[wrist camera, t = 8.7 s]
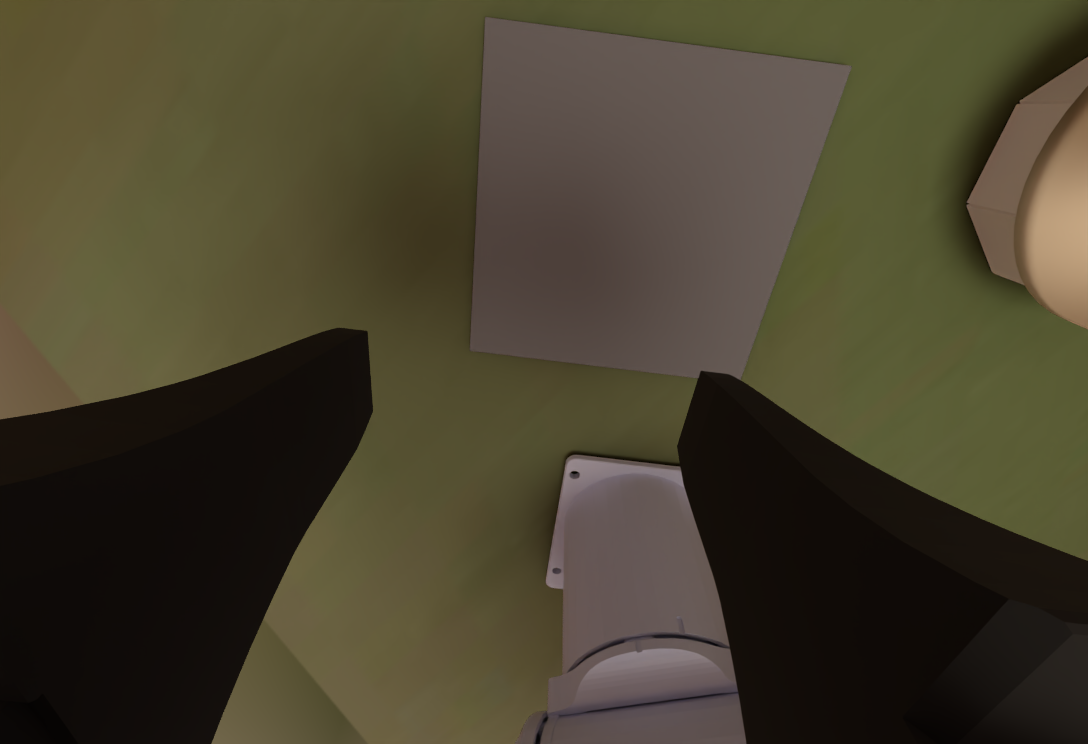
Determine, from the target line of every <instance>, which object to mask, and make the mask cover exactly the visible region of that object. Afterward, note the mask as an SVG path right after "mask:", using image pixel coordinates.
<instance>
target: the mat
mask: <svg viewBox="0 0 1088 744" xmlns="http://www.w3.org/2000/svg"><path fill="white" fill-rule="evenodd" d="M851 67H852V66H847V65H840V64H832V63H825V62H817V61H810V60H802V59H795V58H787V57H780V56H772V55H765V54H758V53H750V52H743V51H735V50H728V49H720V48H713V47H705V46H698V45H690V44H683V43H676V42H668V41H661V40H653V39H646V38H638V37H631V36H623V35H616V34H608V33H601V32H593V31H586V30H579V29H571V28H564V27H556V26H549V25H541V24H534V23H526V22H519V21H511V20H504V19H497V18H489V17H485V34H484V55H483V77H482V99H481V120H480V142H479V163H478V185H477V207H476V228H475V250H474V271H473V293H472V315H471V336H470V351H476V352H484V353H493V354H501V355H509V356H517V357H526V358H534V359H542V360H551V361H559V362H567V363H575V364H584V365H592V366H600V367H609V368H617V369H625V370H633V371H642V372H650V373H658V374H667V375H675V376H683V377H691V378H699V375H700V371H707V372H716V373H724V374H730V375H732V376H734V377H736V378H737V379H739V380H741V377H742V374H743V371H744V369H745V366H746V363H747V360H748V357H749V354H750V352H751V349H752V346H753V343H754V340H755V338H756V335H757V332H758V329H759V326H760V323H761V321H762V318H763V315H764V312H765V309H766V307H767V304H768V301H769V298H770V295H771V292H772V290H773V287H774V284H775V281H776V278H777V276H778V273H779V270H780V267H781V264H782V261H783V259H784V256H785V253H786V250H787V247H788V245H789V242H790V239H791V236H792V233H793V230H794V228H795V225H796V222H797V219H798V216H799V214H800V211H801V208H802V205H803V202H804V199H805V197H806V194H807V191H808V188H809V185H810V183H811V180H812V177H813V174H814V171H815V168H816V166H817V163H818V160H819V157H820V154H821V152H822V149H823V146H824V143H825V140H826V138H827V135H828V132H829V129H830V126H831V123H832V121H833V118H834V115H835V112H836V109H837V107H838V104H839V101H840V98H841V95H842V92H843V90H844V87H845V84H846V81H847V78H848V76H849V73H850V70H851Z"/></svg>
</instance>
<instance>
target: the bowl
mask: <svg viewBox="0 0 1088 744" xmlns="http://www.w3.org/2000/svg"><path fill="white" fill-rule="evenodd" d="M1087 86H1088V57H1087V58H1085V59H1083V60H1082V61H1080V62H1079V63H1077V64H1076V65H1074V66H1073V67H1071V68H1070V69H1068V70H1066V71H1065V72H1063V73H1062V74H1060V75H1059V76H1057V77H1056V78H1054V79H1053V80H1051V81H1050V82H1048V83H1046V84H1045V85H1043V86H1042V87H1040V88H1039V89H1037V90H1036V91H1034V92H1033V93H1031V94H1029V95H1028V96H1026V97H1025V98H1023V99H1022V100H1020V104H1016V106H1015V108H1014V110H1013V112H1012V114H1011V116H1010V118H1009V120H1008V122H1007V124H1006V126H1005V128H1004V130H1003V132H1002V134H1001V136H1000V138H999V140H998V142H997V144H996V146H995V148H994V150H993V151H992V153H991V155H990V157H989V159H988V161H987V163H986V165H985V167H984V169H983V171H982V173H981V175H980V177H979V179H978V181H977V183H976V185H975V187H974V189H973V191H972V193H971V195H970V197H969V199H968V201H967V203H969V204H968V205H966V206H967V209H968V211H969V214H970V217H971V219H972V222H973V224H974V227H975V230H976V232H977V235H978V237H979V240H980V243H981V245H982V248H983V250H984V253H985V256H986V258H987V261H988V263H989V266H990V268H991V271H992V272H993V273H994V274H996V275H999V276H1001V277H1004V278H1007V279H1009V280H1012V281H1014V282H1017V283H1020V284H1022V285H1024V283H1023V281H1022V280H1021V277H1020V274H1019V271H1018V268H1017V265H1016V261H1015V253H1014V224H1015V219H1016V214H1017V208H1018V204H1019V201H1020V197H1021V194H1022V191H1023V188H1024V185H1025V182H1026V180H1027V178H1028V175H1029V173H1030V171H1031V169H1032V166H1033V164H1034V162H1035V160H1036V158H1037V156H1038V154H1039V153H1040V151H1041V149H1042V147H1043V146H1044V144H1045V142H1046V141H1047V139H1048V137H1049V135H1050V134H1051V132H1052V131H1053V130H1054V128H1055V127H1056V125H1057V124H1058V122H1059V121H1060V120H1061V118H1062V117H1063V115H1064V114H1065V112H1066V111H1067V110H1068V109H1069V107H1070V106H1071V105H1072V104H1073V103H1074V101H1075V100H1076V99H1077V98H1078V97H1079V95H1080V94H1081V93H1082V92H1083V91H1084V89H1085V88H1086V87H1087Z"/></svg>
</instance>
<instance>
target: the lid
mask: <svg viewBox="0 0 1088 744" xmlns="http://www.w3.org/2000/svg"><path fill="white" fill-rule="evenodd" d="M1014 253H1015V261H1016V265H1017V268H1018V271H1019V274H1020V277H1021V280H1022V281H1023V283H1024V285H1025V287H1026V288H1027V290H1028V292H1029V293H1030V294H1031V295H1032V296H1033V298H1034V299H1035V300H1036V301H1037V302H1038V303H1039V304H1040V305H1042V306H1043V307H1044V308H1046V309H1047V310H1048V311H1049V312H1051V313H1053V314H1055V315H1057V316H1059V317H1061V318H1063V319H1065V320H1067V321H1070V322H1072V323H1074V324H1077V325H1079V326H1081V327H1084V328H1086V329H1088V86H1087V87H1086V88H1085V89H1084V91H1083V92H1082V93H1081V94H1080V95H1079V97H1078V98H1077V99H1076V100H1075V101H1074V103H1073V104H1072V105H1071V106H1070V107H1069V109H1068V110H1067V111H1066V112H1065V114H1064V115H1063V117H1062V118H1061V120H1060V121H1059V122H1058V124H1057V125H1056V127H1055V128H1054V130H1053V131H1052V132H1051V134H1050V135H1049V137H1048V139H1047V141H1046V142H1045V144H1044V146H1043V147H1042V149H1041V151H1040V153H1039V154H1038V156H1037V158H1036V160H1035V162H1034V164H1033V166H1032V169H1031V171H1030V173H1029V175H1028V178H1027V180H1026V182H1025V185H1024V188H1023V191H1022V194H1021V197H1020V201H1019V204H1018V208H1017V214H1016V219H1015V224H1014Z"/></svg>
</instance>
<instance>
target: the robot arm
mask: <svg viewBox="0 0 1088 744" xmlns="http://www.w3.org/2000/svg"><path fill="white" fill-rule="evenodd" d="M372 412H373V404H372V390H371V376H370V361H369V347H368V332H367V331H362V330H354V329H345V328H335V329H331V330H327V331H324V332H321V333H318V334H315V335H312V336H310V337H307V338H304V339H302V340H299V341H296V342H294V343H291V344H288V345H286V346H283V347H281V348H278V349H275V350H273V351H270V352H267V353H265V354H262V355H259V356H257V357H254V358H251V359H248V360H245V361H243V362H240V363H237V364H234V365H231V366H228V367H225V368H222V369H219V370H216V371H213V372H210V373H208V374H205V375H202V376H198V377H195V378H192V379H188V380H185V381H182V382H178V383H175V384H171V385H167V386H163V387H160V388H156V389H152V390H148V391H144V392H140V393H136V394H132V395H128V396H124V397H119V398H114V399H109V400H104V401H99V402H94V403H90V404H85V405H80V406H75V407H70V408H65V409H60V410H55V411H51V412H44V413H38V414H32V415H26V416H20V417H13V418H7V419H1V420H0V744H211V743H212V740H213V738H214V735H215V732H216V730H217V727H218V725H219V722H220V720H221V717H222V714H223V712H224V709H225V707H226V705H227V702H228V700H229V698H230V695H231V693H232V690H233V688H234V686H235V683H236V681H237V678H238V676H239V673H240V671H241V669H242V666H243V664H244V662H245V659H246V657H247V654H248V652H249V650H250V647H251V645H252V643H253V641H254V638H255V636H256V634H257V631H258V630H259V627H260V625H261V623H262V621H263V618H264V616H265V614H266V612H267V609H268V607H269V605H270V603H271V601H272V598H273V596H274V594H275V592H276V590H277V588H278V586H279V584H280V582H281V579H282V577H283V575H284V573H285V571H286V569H287V567H288V565H289V563H290V561H291V559H292V556H293V554H294V552H295V550H296V549H297V547H298V545H299V543H300V542H301V540H302V538H303V536H304V534H305V533H306V531H307V529H308V528H309V526H310V524H311V523H312V521H313V520H314V518H315V516H316V515H317V513H318V512H319V510H320V508H321V507H322V505H323V503H324V502H325V500H326V499H327V497H328V495H329V494H330V492H331V491H332V489H333V487H334V486H335V484H336V483H337V481H338V479H339V478H340V476H341V474H342V473H343V471H344V470H345V468H346V466H347V465H348V463H349V461H350V460H351V458H352V456H353V455H354V453H355V451H356V450H357V448H358V446H359V443H360V441H361V439H362V437H363V434H364V432H365V430H366V427H367V425H368V422H369V420H370V417H371V415H372ZM677 448H678V455H679V461H680V467H678V466H669V465H661V464H652V463H644V462H635V461H627V460H618V459H610V458H601V457H593V456H584V455H572V456H570V457H568V458H567V460H566V464H565V470H564V475H563V481H562V487H561V493H560V498H559V504H558V510H557V516H556V522H555V527H554V533H553V539H552V545H551V551H550V556H549V562H548V568H547V574H546V584H547V585H548V586H549V587H552V588H558V589H563V675H560V676H556V677H552V678H550V679H549V680H548V709H547V711H541V712H535V713H533V714H532V715H531V716H529V718H528V719H527V721H526V722H525V724H524V726H523V728H522V731H521V733H520V735H519V737H518V739H517V740H516V742H515V744H1088V561H1086V560H1083V559H1081V558H1078V557H1075V556H1073V555H1070V554H1067V553H1065V552H1062V551H1060V550H1057V549H1054V548H1052V547H1049V546H1047V545H1044V544H1042V543H1039V542H1036V541H1034V540H1031V539H1029V538H1026V537H1024V536H1021V535H1018V534H1016V533H1013V532H1011V531H1009V530H1006V529H1004V528H1001V527H999V526H997V525H994V524H992V523H990V522H987V521H985V520H982V519H980V518H978V517H976V516H973V515H971V514H969V513H967V512H965V511H962V510H960V509H958V508H956V507H954V506H951V505H949V504H947V503H945V502H943V501H940V500H938V499H936V498H934V497H932V496H930V495H928V494H926V493H924V492H922V491H920V490H918V489H916V488H913V487H911V486H909V485H908V484H906V483H904V482H902V481H900V480H898V479H896V478H894V477H893V476H891V475H889V474H887V473H885V472H883V471H881V470H879V469H878V468H876V467H874V466H872V465H870V464H868V463H867V462H865V461H863V460H861V459H860V458H858V457H856V456H855V455H853V454H851V453H850V452H848V451H846V450H845V449H843V448H842V447H840V446H838V445H837V444H835V443H833V442H832V441H830V440H829V439H827V438H825V437H824V436H822V435H821V434H819V433H818V432H816V431H815V430H813V429H812V428H810V427H809V426H807V425H806V424H804V423H803V422H801V421H800V420H798V419H797V418H795V417H794V416H792V415H791V414H789V413H788V412H786V411H785V410H784V409H782V408H781V407H779V406H778V405H776V404H775V403H774V402H772V401H771V400H769V399H768V398H766V397H765V396H763V395H762V394H761V393H759V392H758V391H756V390H755V389H753V388H752V387H750V386H749V385H747V384H746V383H744V382H742V381H741V380H739V379H737V378H736V377H734V376H732V375H730V374H724V373H716V372H707V371H700V375H699V378H698V381H697V384H696V387H695V391H694V394H693V397H692V400H691V403H690V407H689V410H688V413H687V416H686V420H685V423H684V426H683V429H682V432H681V436H680V439H679V442H678V445H677ZM572 471H577V472H579V473H577V474H572V473H570V472H572Z"/></svg>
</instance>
